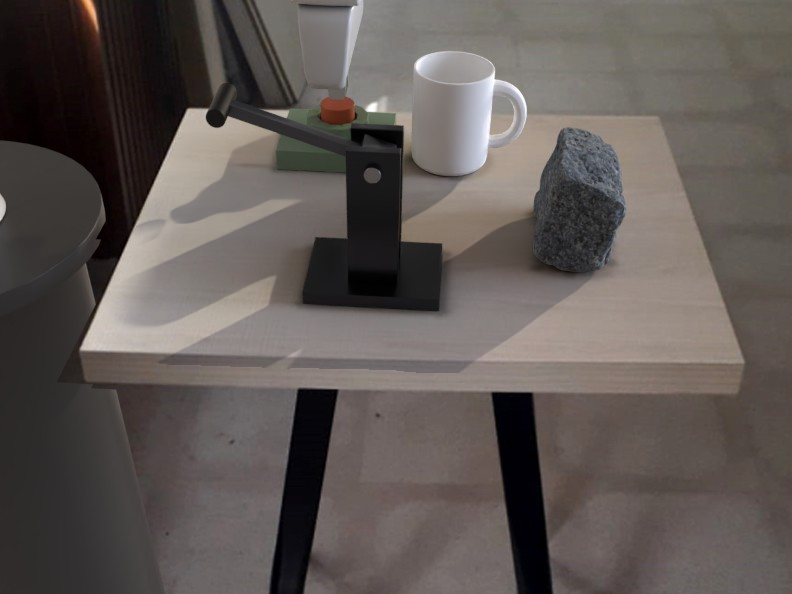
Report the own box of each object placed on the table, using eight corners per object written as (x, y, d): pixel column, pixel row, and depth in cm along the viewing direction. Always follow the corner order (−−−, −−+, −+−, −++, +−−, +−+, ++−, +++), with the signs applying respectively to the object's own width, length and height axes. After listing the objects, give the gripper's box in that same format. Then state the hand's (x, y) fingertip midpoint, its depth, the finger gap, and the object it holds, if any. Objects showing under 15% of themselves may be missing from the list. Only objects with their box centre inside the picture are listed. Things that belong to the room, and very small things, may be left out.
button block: (277, 169, 101) (274, 134, 99) (291, 126, 109) (289, 92, 106) (389, 174, 101) (390, 139, 98) (396, 131, 108) (396, 97, 106)
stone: (521, 205, 97) (533, 112, 90) (597, 207, 97) (614, 114, 90) (533, 276, 88) (547, 178, 81) (618, 278, 88) (638, 180, 81)
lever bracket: (302, 303, 84) (294, 160, 75) (315, 247, 90) (309, 109, 81) (439, 311, 83) (447, 168, 74) (442, 254, 90) (450, 116, 81)
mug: (519, 144, 107) (529, 53, 100) (523, 181, 101) (534, 87, 94) (411, 140, 107) (414, 49, 100) (409, 176, 101) (412, 82, 94)
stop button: (319, 125, 101) (318, 109, 100) (323, 110, 104) (322, 94, 103) (352, 126, 101) (352, 111, 100) (356, 111, 104) (356, 96, 103)
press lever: (202, 129, 75) (208, 101, 74) (215, 101, 79) (221, 75, 78) (384, 190, 78) (394, 165, 76) (388, 161, 82) (397, 136, 80)
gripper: (315, -79, 99) (321, 52, 108) (285, -9, 84) (295, 137, 93) (376, -77, 99) (376, 55, 108) (357, -6, 84) (359, 139, 93)
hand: (338, 93), depth 101 cm, fingers closed
